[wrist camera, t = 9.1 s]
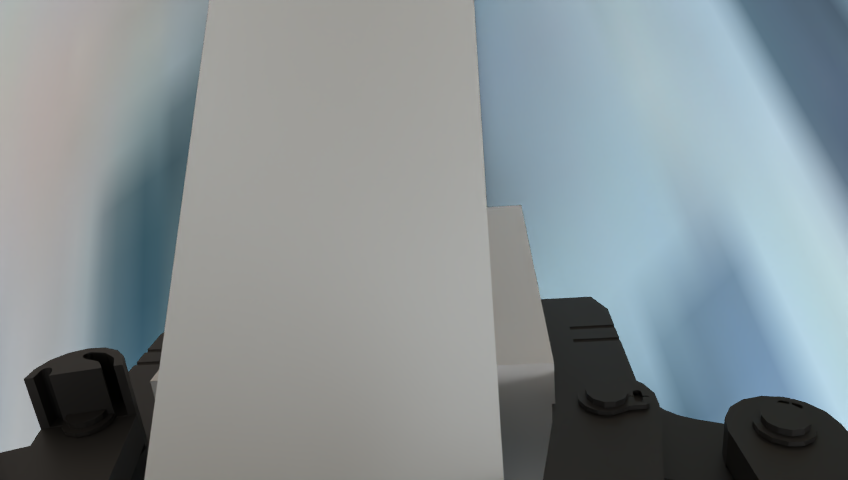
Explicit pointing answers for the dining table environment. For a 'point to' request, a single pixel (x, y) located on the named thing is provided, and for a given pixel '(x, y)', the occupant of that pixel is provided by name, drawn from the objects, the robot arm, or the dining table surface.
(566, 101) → the dining table surface
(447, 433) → the light grey rectangular block
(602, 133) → the dining table surface
